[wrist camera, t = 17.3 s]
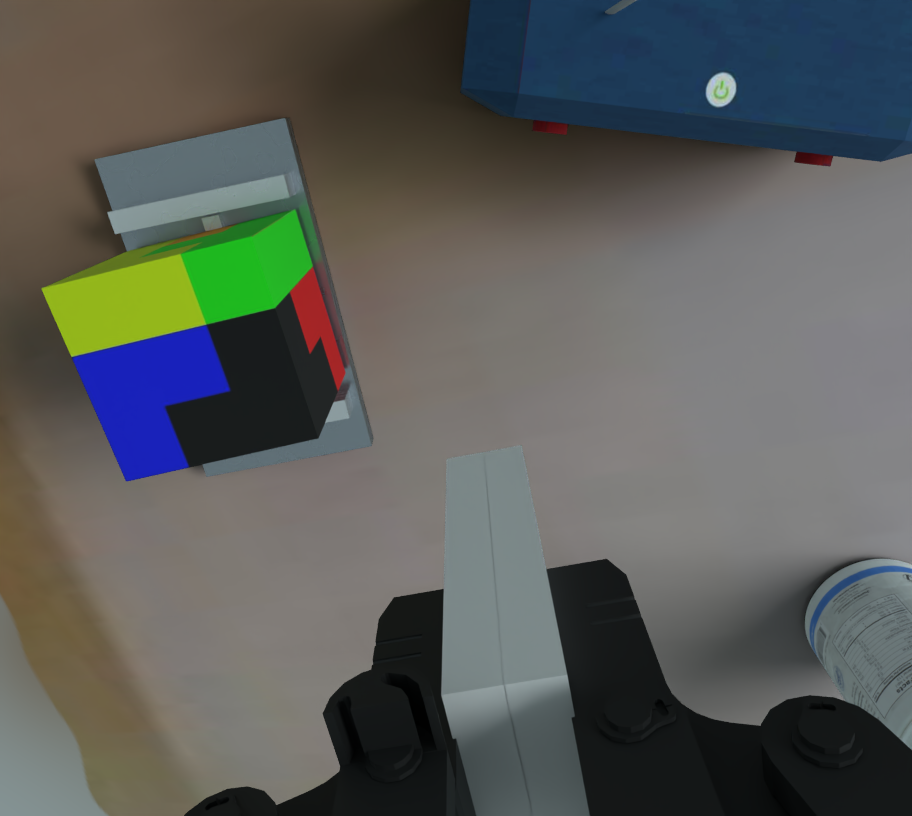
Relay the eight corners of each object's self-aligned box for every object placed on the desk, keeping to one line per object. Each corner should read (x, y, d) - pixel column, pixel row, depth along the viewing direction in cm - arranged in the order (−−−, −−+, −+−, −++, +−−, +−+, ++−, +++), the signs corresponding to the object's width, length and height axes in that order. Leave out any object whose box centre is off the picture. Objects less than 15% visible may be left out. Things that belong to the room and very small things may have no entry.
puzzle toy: (190, 408, 48) (126, 481, 38) (128, 250, 44) (41, 288, 35) (345, 372, 47) (318, 438, 37) (295, 209, 43) (251, 236, 34)
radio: (457, 120, 43) (459, 127, 25) (476, -59, 40) (495, -206, 21) (819, 163, 44) (1086, 202, 25) (865, -8, 41) (1210, -107, 22)
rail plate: (103, 158, 44) (79, 161, 41) (289, 117, 43) (278, 118, 40) (212, 468, 51) (198, 489, 48) (373, 438, 50) (368, 457, 47)
